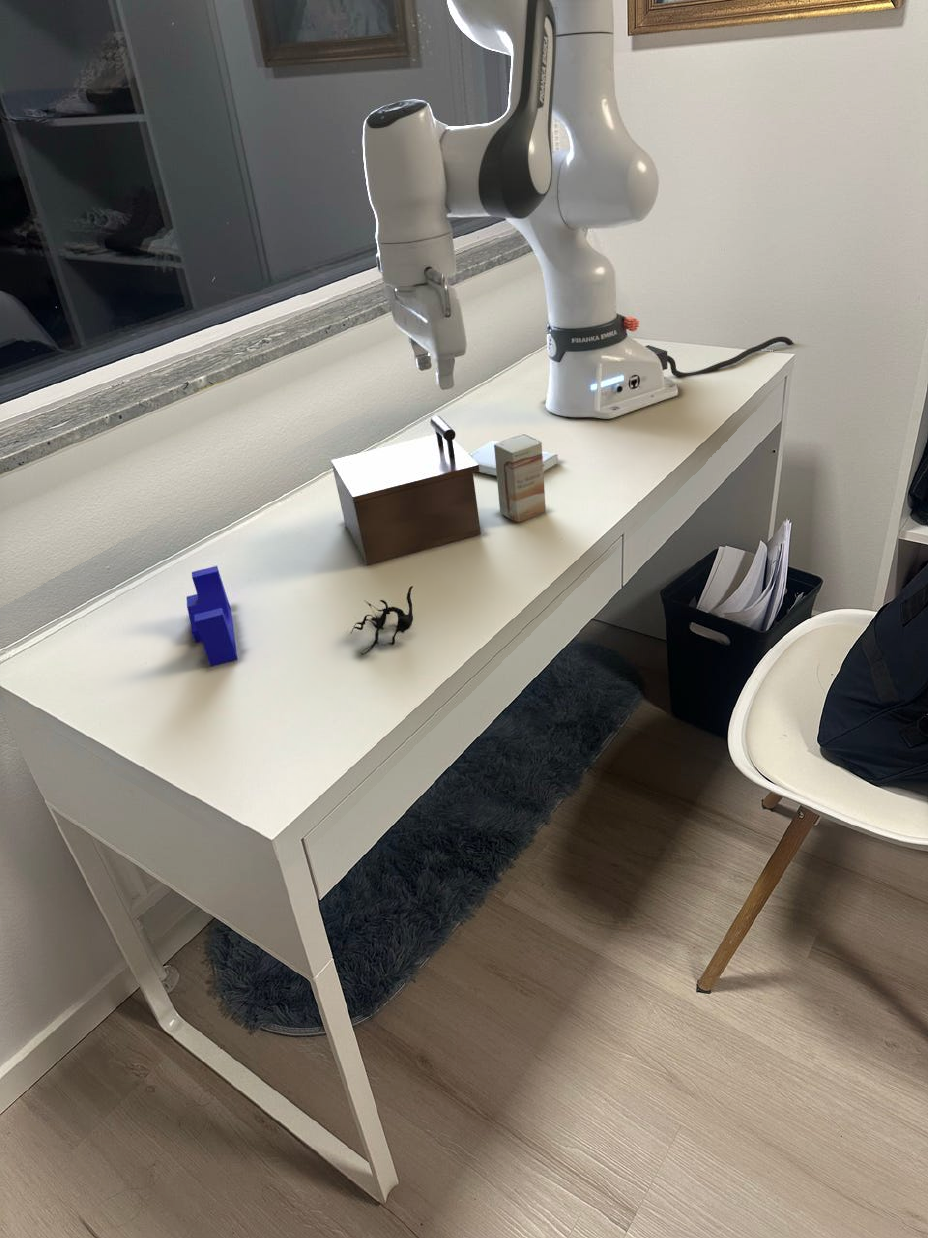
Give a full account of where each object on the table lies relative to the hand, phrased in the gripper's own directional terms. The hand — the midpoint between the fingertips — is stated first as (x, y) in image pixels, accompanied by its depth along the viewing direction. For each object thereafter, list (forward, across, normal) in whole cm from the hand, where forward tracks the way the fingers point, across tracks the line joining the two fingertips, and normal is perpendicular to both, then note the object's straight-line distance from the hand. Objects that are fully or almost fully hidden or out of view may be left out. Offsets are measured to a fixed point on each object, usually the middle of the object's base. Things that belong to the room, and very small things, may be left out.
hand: (434, 377), depth 111 cm
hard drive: (+20, +12, -13) cm, 26 cm away
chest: (+20, 0, +6) cm, 21 cm away
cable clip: (+20, -14, +34) cm, 42 cm away
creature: (+20, -24, +16) cm, 35 cm away
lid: (+11, 0, +6) cm, 12 cm away
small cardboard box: (+20, -4, -9) cm, 22 cm away
